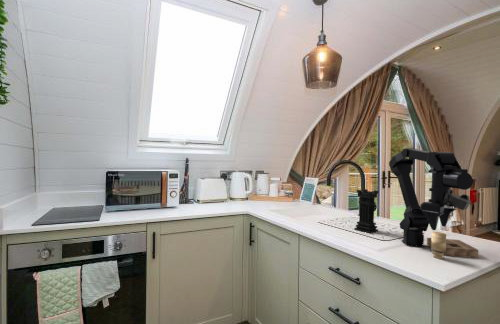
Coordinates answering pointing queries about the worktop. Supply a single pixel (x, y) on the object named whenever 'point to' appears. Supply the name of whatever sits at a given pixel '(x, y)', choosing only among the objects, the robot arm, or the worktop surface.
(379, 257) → the worktop surface
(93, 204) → the worktop surface
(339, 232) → the worktop surface
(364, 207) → the chess piece
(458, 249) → the walnut block
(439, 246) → the oak peg
